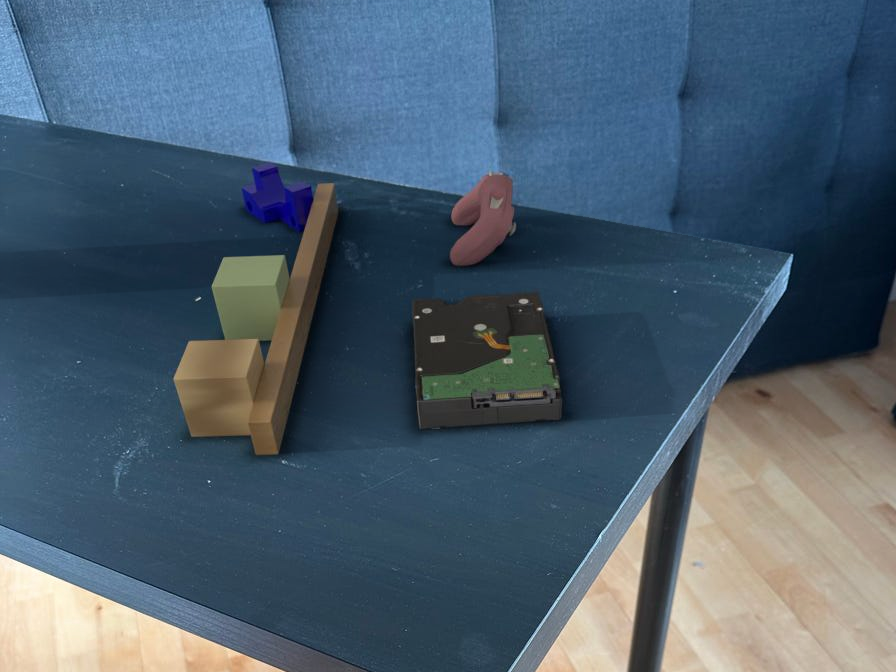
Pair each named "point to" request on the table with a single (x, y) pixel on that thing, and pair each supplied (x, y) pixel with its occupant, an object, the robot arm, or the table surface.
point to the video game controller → (483, 219)
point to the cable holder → (277, 198)
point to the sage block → (250, 295)
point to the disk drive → (484, 362)
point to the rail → (293, 326)
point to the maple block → (219, 385)
